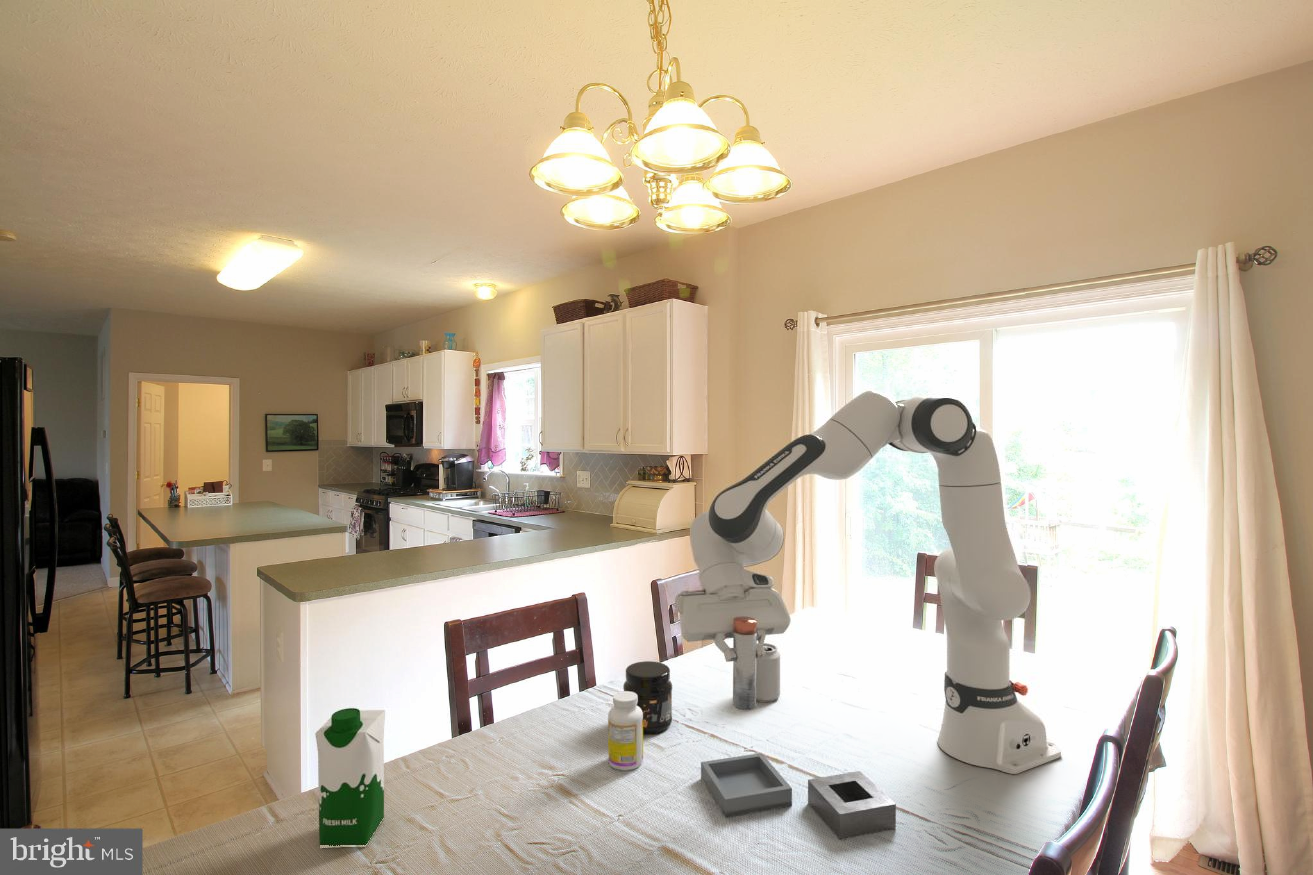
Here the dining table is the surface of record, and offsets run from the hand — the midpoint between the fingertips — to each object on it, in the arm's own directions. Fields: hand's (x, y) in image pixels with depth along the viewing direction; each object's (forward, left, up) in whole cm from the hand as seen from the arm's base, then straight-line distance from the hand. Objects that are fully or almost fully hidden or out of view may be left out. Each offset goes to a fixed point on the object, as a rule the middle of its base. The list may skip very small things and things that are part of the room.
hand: (746, 658), depth 110 cm
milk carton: (+64, -7, -24) cm, 69 cm away
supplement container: (+10, -30, -24) cm, 39 cm away
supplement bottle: (+18, -16, -24) cm, 34 cm away
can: (-20, -36, -24) cm, 47 cm away
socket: (-14, +10, -24) cm, 29 cm away
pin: (0, -1, -8) cm, 8 cm away
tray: (0, -1, -24) cm, 24 cm away
